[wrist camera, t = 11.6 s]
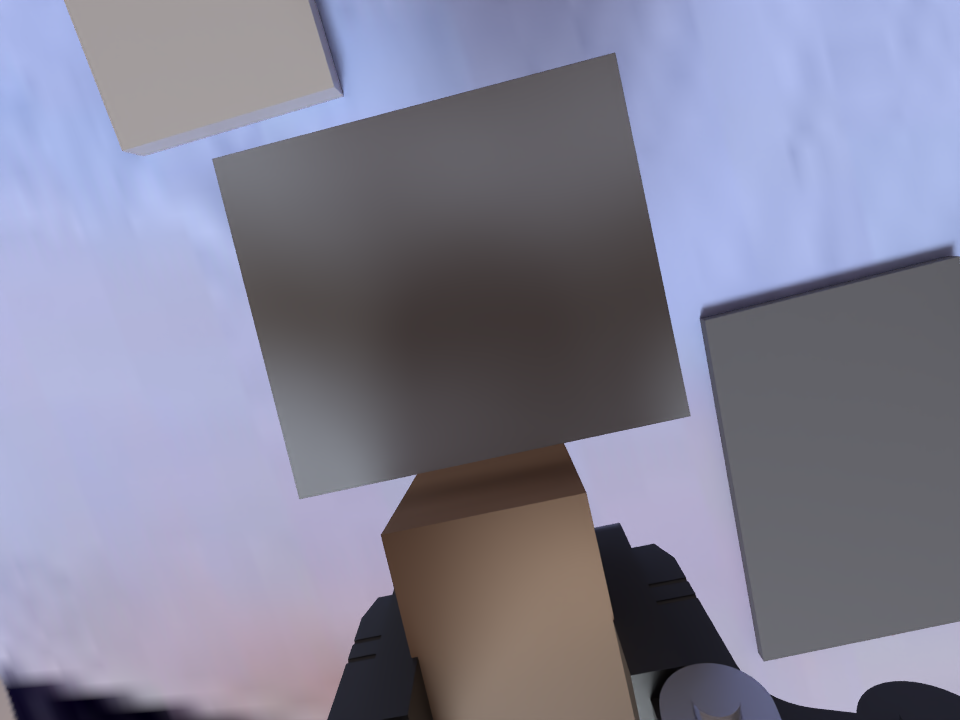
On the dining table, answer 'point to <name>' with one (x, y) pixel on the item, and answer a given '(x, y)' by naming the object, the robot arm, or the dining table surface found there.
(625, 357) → the turner
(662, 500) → the dining table surface
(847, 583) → the mat
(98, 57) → the tile
